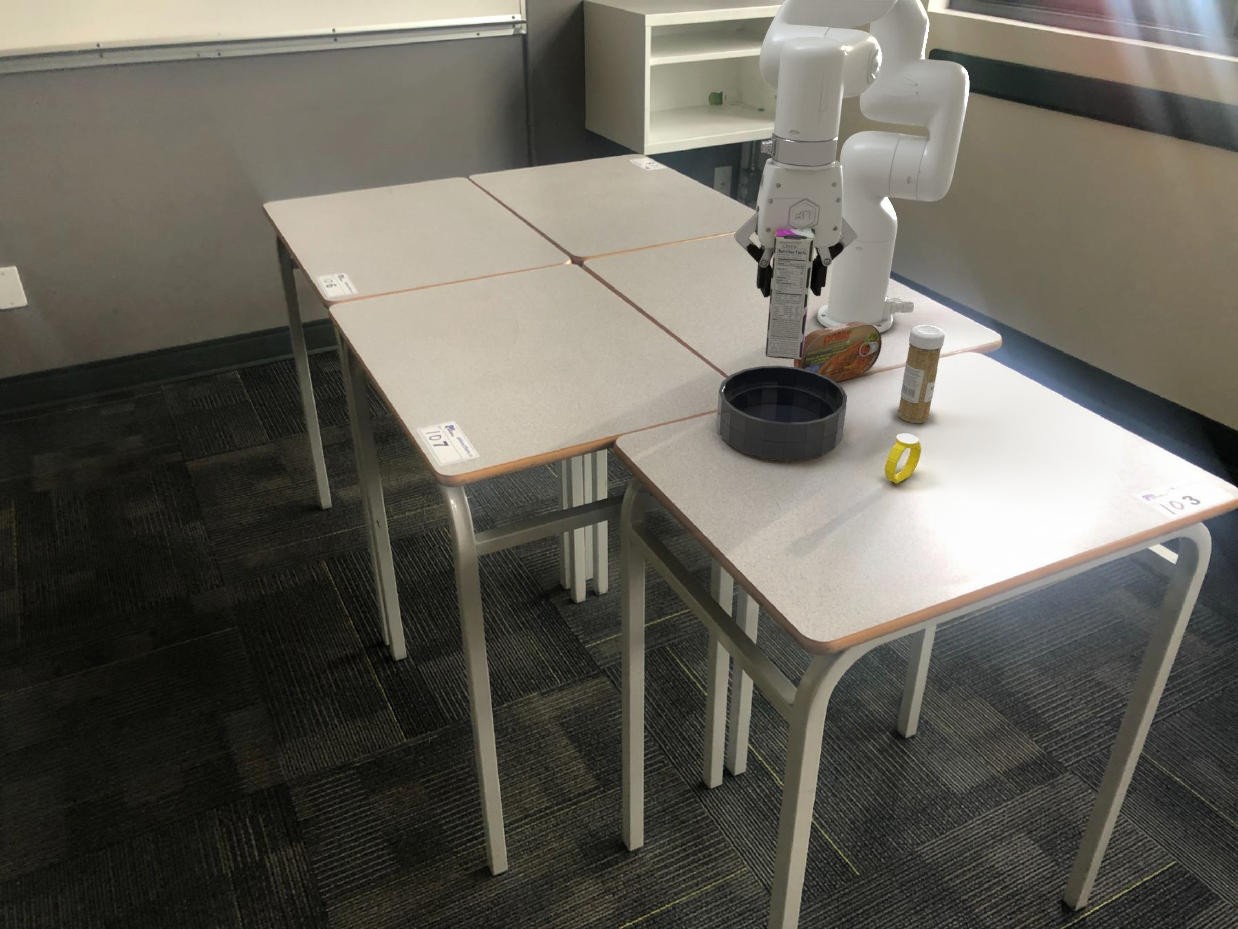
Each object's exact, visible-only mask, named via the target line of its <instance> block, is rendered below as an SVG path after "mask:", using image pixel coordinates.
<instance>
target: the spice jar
mask: <svg viewBox="0 0 1238 929" xmlns="http://www.w3.org/2000/svg"><path fill="white" fill-rule="evenodd" d="M945 337H946V332H945V330H944V329H942V328H941V327H938V326H935V325H931V324H918V325H915V326H913V327H912V328H911V329H910V332H909V336H908V345H909V347H908V351H907V357H906V361H905V365H904V372H903V378H902V383H901V389H900V400H899V404H898V405H899V406H898V409H897V412H896V415H897V416H898V418H899V419H900V420H902V421H905V422H906V423H910V424H922V423H926V422H928V421H929V419H930V416H931V414H930V411H931V404H932V400H933V397H934V392H935V384H936V379H937V376H938V366H939V362H940V355H941V351H942V348H943V347H944V343H945V339H946V338H945Z"/></svg>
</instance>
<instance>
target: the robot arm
mask: <svg viewBox="0 0 1238 929" xmlns="http://www.w3.org/2000/svg"><path fill="white" fill-rule="evenodd" d="M867 24H869V32H867V31H864V30H860V29H854V28H858V27H861V26H864V25H867ZM929 27H930V22H929V16H928V13H927V11H926V10H925V7H924V4H923V3H922V1H921V0H784V1H783V3H782V4H781V5H780V7H779V8H778V9H777V11H776V13H775V16H774V17H773V19H772V21H771V23H770V25H769V27H768V29H767V31H766V34H765V36H764V39H763V41H762V44H761V48H760V51H759V52H760V53H759V59H758V60H759V61H758V63H759V64H758V67H759V72H760V76H761V78H762V80H763V82H764V83H765V85H767V86H769V87H770V88H771V89H774V90H777V92H776V103H775V114H774V126H773V132H772V133H771V134H772V136H770V139H767V140H762V141H760V142H761V143H760V154H761V153H766V154H767V155H770V157H771V158H767V159H766V162H765V164H764V167H763V172H762V175H761V179H760V184H759V190H758V194H757V200H756V207H755V213H754V214H753V215H752V216H751V217H750V218H749V219H748V220H747V221H745V223H744V224H742V226H740V228H739V229H738V230H737V231H735V233H734V234H733V237H734V240H735V241H736V242H737V244H739V246H740V247H741V248H743V249H744V250H745V251H746V252H747V254H748V255H750V257H752V259H753V260H754V261H755V262H756V263H757V271H756V282H755V284H756V288H757V290H760V292H761V294H762V296H763V298H770V291H771V278H772V264H771V260H772V259H773V253H774V241H775V232H776V230H780V229H795V228H797V229H802V228H803V229H807V228H810V229H815V241H814V249H815V250H814V251H815V253H816V255H815V258H814V257H813V263H812V272H811V282H810V290H811V292H812V294H813V295H814V296H815V297H821V295H822V288H825V287H826V284H827V277H828V276H827V275H828V268H829V266H831V264H832V270H831V277H830V285H829V286H830V287H829V293H828V294H829V295H828V300H827V301H828V303H826V304H823V305H822V306H820V308H819V309H818V311H817V321H818V322H819V323H820V325H822V326H824V327H825V328H829V327H833V326H837V325H841V324H845V323H849V322H853V321H860V322H864V323H866V324H869V325H872V326H874V327H875V328H877V330H878V331H879V333H880V334H881V333H884V332H886V331H888V330H889V329H890V328H891V327H892V325H893V320H894V319H893V315H895V314H896V313H900V314H911V313H913V312H914V309H915V306H914V301H912V300H911V301H910V300H909V301H908V300H907V301H903V300H902V297H889V296H888V292H889V291H888V289H889V285H890V284H889V283H890V278H891V270H892V265H893V259H894V252H895V246H896V239H897V233H898V217H897V215H896V212H895V209H894V207H893V205H892V203H891V201H890V200H889V198H894V199H903V200H909V201H917V202H928V203H929V202H931V203H933V202H938V201H941V200H942V199H943V198H945V196H946V195H947V194H948V192H949V190H950V187H951V184H952V181H953V178H954V172H955V168H956V164H957V157H958V154H959V148H960V143H961V138H962V132H963V128H964V122H965V117H966V112H967V106H968V99H969V91H970V80H969V74H968V71H967V70H966V68H965V67H964V66H963V65H962V64H960V63H958V62H955V61H951V60H942V59H941V60H940V59H929V58H928V59H927V58H926V56H925V50H926V44H927V39H928V34H929V33H928V32H929ZM858 96H859V109H860V112H861V114H862V115H863V116H864V117H865V118H866V119H868V120H871V121H875V122H879V123H886V124H887V123H888V124H895V125H902V126H903V125H904V126H913V127H921V128H925V129H927V130H928V131H927V132H928V133H929V136H924V135H914V134H905V133H901V132H891V131H880V130H864V131H859V132H856V133H854V134H851V135H850V136H849V137H848V138H847V139H846V140H845V142H844V143H843V145H842V147H841V150H840V154H839V161H838V160H837V159H836V157H837V148H838V138H839V131H840V123H841V116H842V115H841V114H842V106H843V105H842V104H843V99H848V98H854V97H858ZM753 234H755V235H756V236H757V238H758V241H759V243H760V244H759V245H756V243H754V242H753V241H752V240H751V239H750V237H751V236H752V235H753Z"/></svg>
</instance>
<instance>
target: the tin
mask: <svg viewBox="0 0 1238 929" xmlns="http://www.w3.org/2000/svg"><path fill="white" fill-rule="evenodd" d="M882 344H883V341H882V335H881V333H879V331H878V330H877V328H875V327H874V326H872V325H869V324H866V323H864V322H860V321H853V322H849V323H845V324H841V325H837V326H833V327H829V328H827V327H825V328H821V329H817V330H814V331H812V332H811V331H810V332H809V333H808V334H806V335H805V339H804V346H803V353H802V359H801V360H797V359H793V365H794V366H793V367H797V368H802V369H805V370H809V371H813V372H817V373H819V374H821V375H824V376H826V377H828V378H830V379H832V380H834V381H835V382H836V383H839V382H842V381H847V380H849V379H853V378H857V377H860V376H862V375H863V376H864V374H866V373H867V372H868V371H870V370H871V369H872V368H873V367H874V365H875V364H876V363H877V361H878V359H879V357H880V354H881V350H882Z"/></svg>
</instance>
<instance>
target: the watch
mask: <svg viewBox="0 0 1238 929" xmlns="http://www.w3.org/2000/svg"><path fill="white" fill-rule="evenodd" d="M921 446H922V445H921V442H920V440H919V438H918V437H917V436H916V435H914V434H912V433H907V432H906V433H905V432H902V433H898V434H897V435H896V437H895V444H894V446H893V447H892V448H891V450H890V452H889V454H888V456H887V458H886V462H885V465H884V476H885V478H886V479H887V480H888V481H890V482H893V483H895V484H899V483H900V482H902V481H904V480H906V479H908V478H910V477H911V475H912V474H913V473H914V471H915V470H916V469H917V465H918V463H919V461H920V458H921V452H922V447H921ZM906 449H909V455H908V457H907V459H906V462H905V464H904V466H902V468H901V470H900V471H899V472H896V469H897V466H898V462H899V460H900V459H901V457H902V454H903V453H904V452H905V451H906Z"/></svg>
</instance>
